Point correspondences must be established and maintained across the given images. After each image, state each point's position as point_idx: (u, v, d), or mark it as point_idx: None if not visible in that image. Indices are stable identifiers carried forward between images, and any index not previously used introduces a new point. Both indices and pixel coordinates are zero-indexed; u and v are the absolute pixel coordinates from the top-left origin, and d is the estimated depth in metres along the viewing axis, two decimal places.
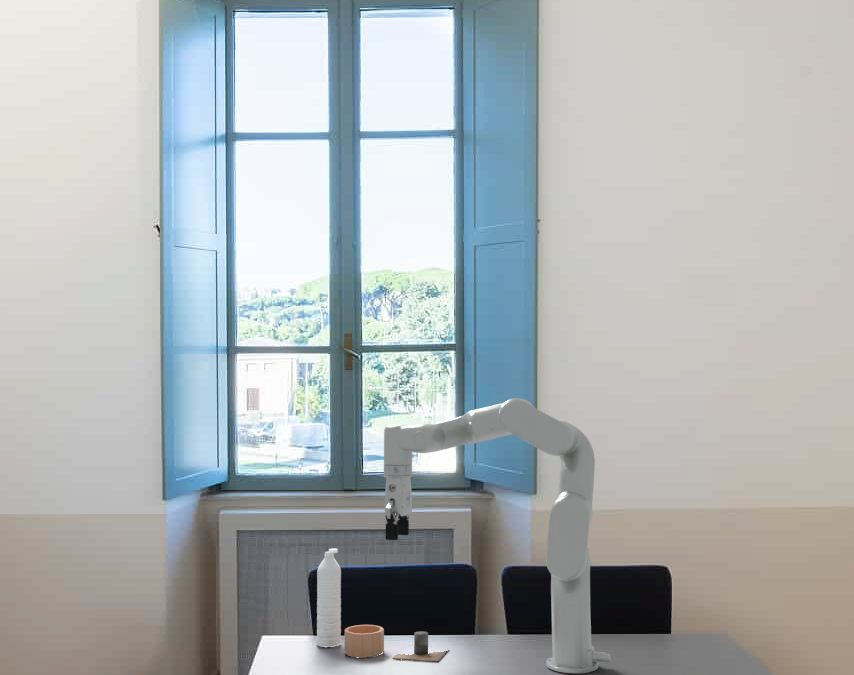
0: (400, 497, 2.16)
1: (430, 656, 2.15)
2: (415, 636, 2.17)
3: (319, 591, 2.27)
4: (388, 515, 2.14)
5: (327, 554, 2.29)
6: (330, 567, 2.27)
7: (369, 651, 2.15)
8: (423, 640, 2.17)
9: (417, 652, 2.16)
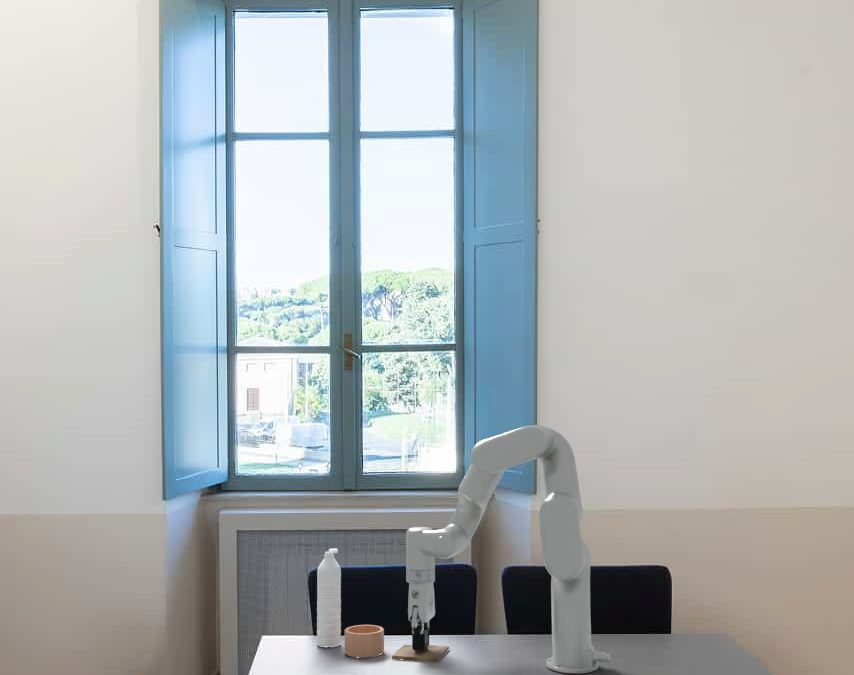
0: (423, 604, 2.14)
1: (430, 654, 2.15)
2: None
3: (319, 591, 2.27)
4: (415, 628, 2.14)
5: (327, 554, 2.29)
6: (330, 567, 2.27)
7: (369, 651, 2.15)
8: None
9: (417, 650, 2.17)
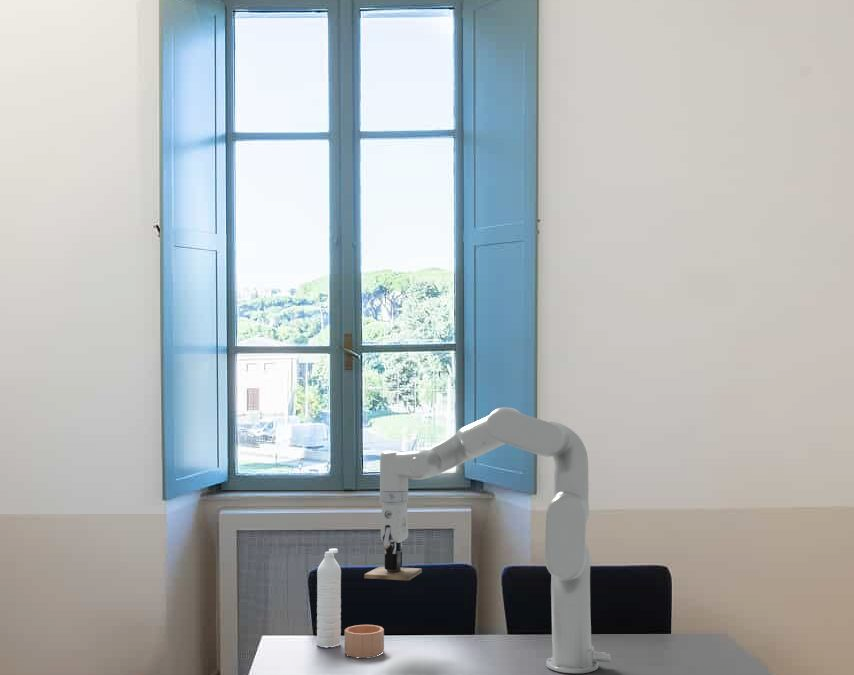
0: (396, 524, 2.17)
1: (402, 573, 2.18)
2: None
3: (319, 591, 2.27)
4: (387, 548, 2.16)
5: (327, 554, 2.29)
6: (330, 567, 2.27)
7: (369, 651, 2.15)
8: None
9: (389, 570, 2.20)
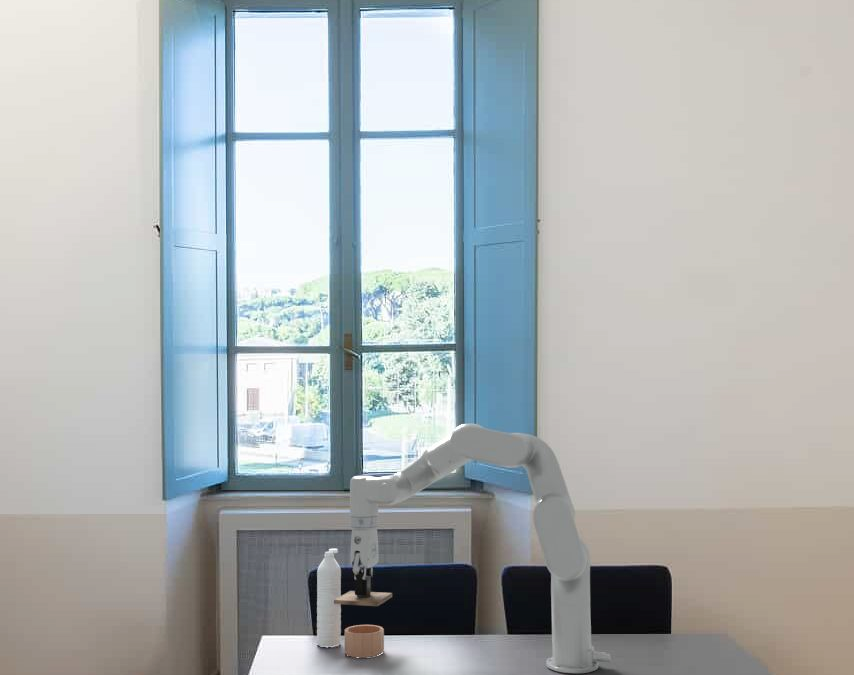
0: (365, 549, 2.17)
1: (371, 598, 2.18)
2: None
3: (319, 591, 2.27)
4: (356, 573, 2.17)
5: (327, 554, 2.29)
6: (330, 567, 2.27)
7: (369, 651, 2.15)
8: None
9: (359, 595, 2.20)
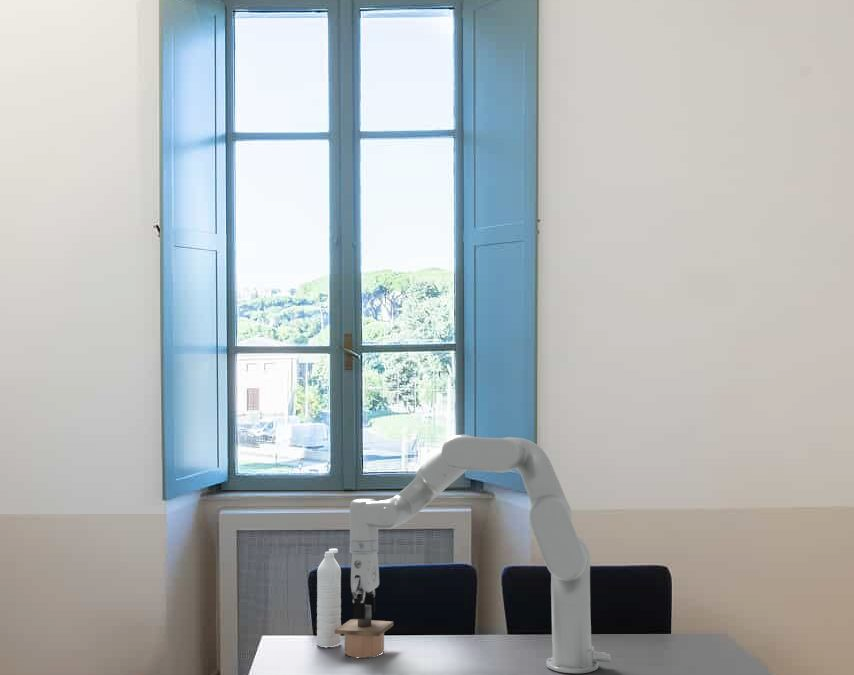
0: (366, 574, 2.17)
1: (372, 628, 2.17)
2: None
3: (319, 591, 2.27)
4: (355, 596, 2.15)
5: (327, 554, 2.29)
6: (330, 567, 2.27)
7: (369, 651, 2.15)
8: (366, 612, 2.19)
9: (360, 624, 2.19)
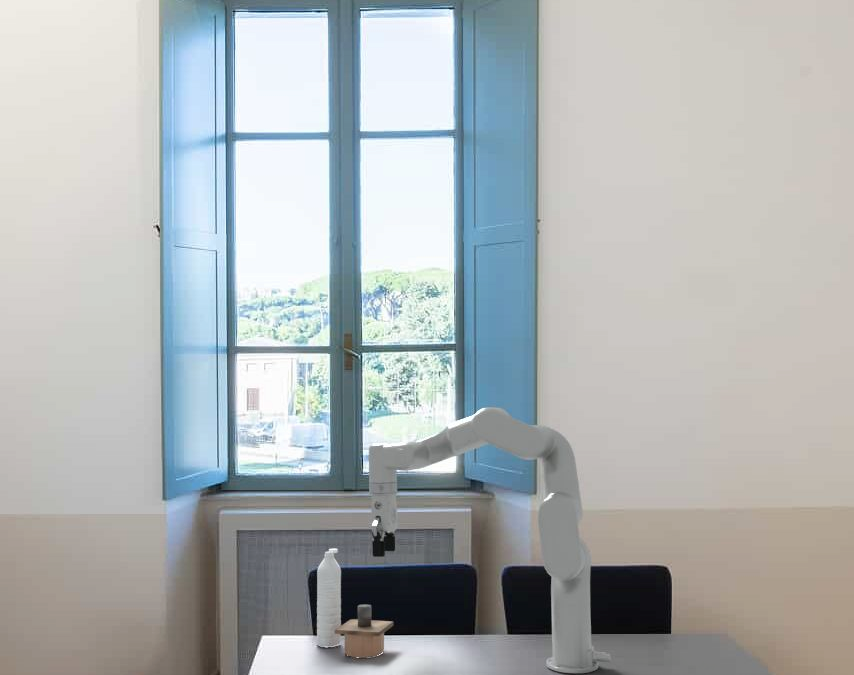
0: (386, 514, 2.21)
1: (372, 628, 2.17)
2: (358, 609, 2.20)
3: (319, 591, 2.27)
4: (374, 532, 2.18)
5: (327, 554, 2.29)
6: (330, 567, 2.27)
7: (369, 651, 2.15)
8: (366, 612, 2.19)
9: (360, 624, 2.19)
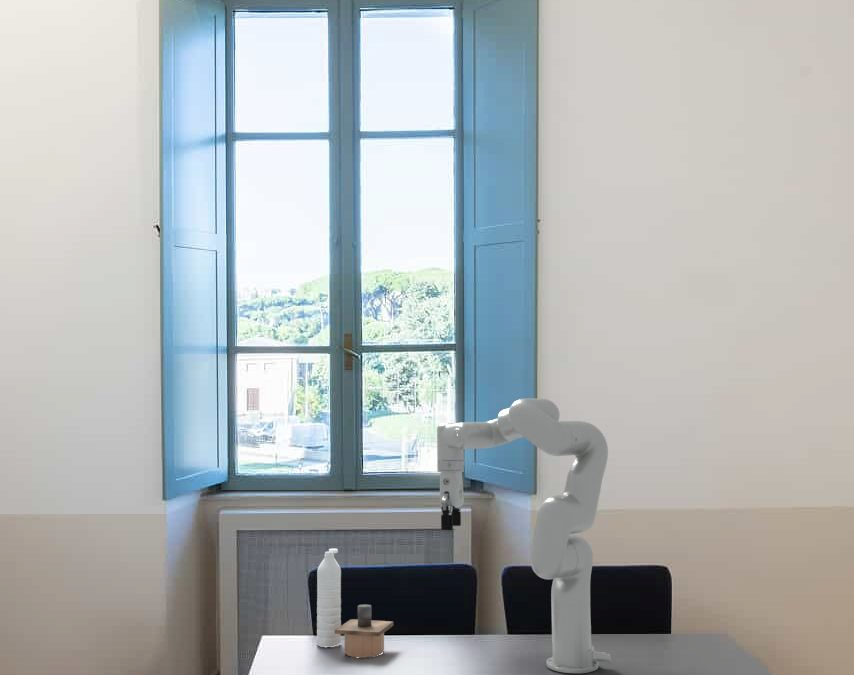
0: (454, 490, 2.33)
1: (372, 628, 2.17)
2: (358, 609, 2.20)
3: (319, 591, 2.27)
4: (444, 507, 2.30)
5: (327, 554, 2.29)
6: (330, 567, 2.27)
7: (369, 651, 2.15)
8: (366, 612, 2.19)
9: (360, 624, 2.19)
